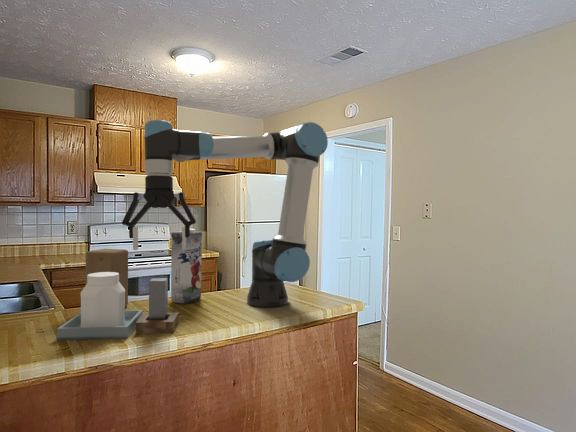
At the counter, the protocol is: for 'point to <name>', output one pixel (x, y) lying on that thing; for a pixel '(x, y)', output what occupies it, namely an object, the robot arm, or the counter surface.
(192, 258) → the juice carton
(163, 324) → the hollow square tube
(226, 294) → the counter surface
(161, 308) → the grey block
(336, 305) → the counter surface
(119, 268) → the wooden block
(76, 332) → the tray
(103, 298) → the jar
